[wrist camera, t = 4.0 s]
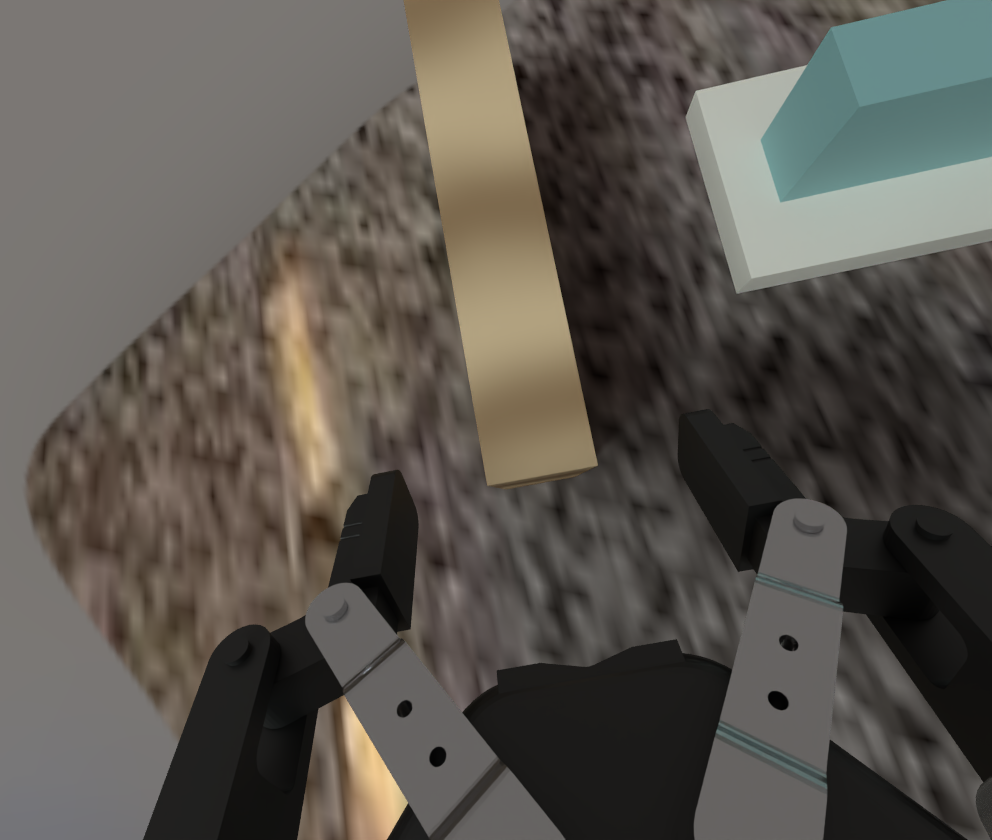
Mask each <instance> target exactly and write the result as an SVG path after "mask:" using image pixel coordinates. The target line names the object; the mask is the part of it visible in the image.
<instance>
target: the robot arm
mask: <svg viewBox="0 0 992 840" xmlns="http://www.w3.org/2000/svg"><path fill="white" fill-rule="evenodd" d="M678 463H679V467H680V471H681V473H682V476H683V478H684V480H685V481H686V483H687V485H688V487H689V488H690V490H691V492H692V493H693V495H694V497H695V499H696V500H697V502H698V504H699V505H700V507H701V509H702V511H703V512H704V514H705V516H706V517H707V519H708V521H709V523H710V524H711V526H712V528H713V529H714V531H715V533H716V535H717V536H718V538H719V540H720V541H721V543H722V545H723V547H724V548H725V550H726V552H727V553H728V555H729V557H730V559H731V560H732V562H733V564H734V565H735V567H736V569H737V571H738V572H739V571H745V570H751V569H754V570H755V572H756V573H757V576H756V580H755V584H754V587H753V591H752V595H751V599H750V603H749V607H748V611H747V615H746V619H745V623H744V627H743V631H742V634H741V638H740V642H739V646H738V650H737V654H736V658H735V662H734V666H733V670H732V669H730V668H728V667H727V666H725V665H723V664H720V663H718V662H716V661H714V660H711V659H707V658H704V657H701V656H697V655H692V654H685V653H682V651H681V649H680V646H679V644H678V641H677V639H676V640H670V641H664V642H658V643H653V644H647V645H641V646H635V647H631V648H629V649H627V650H625V651H623V652H620V653H618V654H616V655H614V656H612V657H610V658H608V659H606V660H604V661H601V662H599V663H597V664H595V665H593V666H590V667H578V666H567V665H556V664H546V663H538V664H532V665H526V666H520V667H515V668H509V669H503V670H497V679H498V685H496V686H494V687H492V688H490V689H489V690H487V691H486V692H484V693H483V694H481V695H480V696H479V697H477V698H476V699H475V700H474V701H473V702H472V703H471V704H470V705H469V706H468V707H467V708H466V709H465V710H464V711H463V713H462V712H461V711H460V709H459V708H458V707H457V706H456V704H455V703H454V702H453V701H452V699H451V698H450V697H449V696H448V694H447V693H446V692H445V691H444V689H443V688H442V687H441V686H440V684H439V683H438V682H437V681H436V679H435V678H434V677H433V676H432V674H431V673H430V672H429V671H428V669H427V668H426V667H425V666H424V664H423V663H422V662H421V661H420V659H419V658H418V657H417V656H416V654H415V653H414V652H413V651H412V649H411V648H410V647H409V646H408V644H407V643H406V642H405V641H404V640H403V639H400V638H399V637H398V636H397V632H398V631H404V630H409V629H411V616H412V604H413V591H414V578H415V565H416V553H417V540H418V515H417V511H416V507H415V504H414V502H413V500H412V497H411V495H410V492H409V490H408V488H407V485H406V483H405V480H404V478H403V476H402V473H401V472H400V471H399V470H394V471H389V472H384V473H378V474H374V475H372V477H371V481H370V485H369V490H368V494H364V495H359V496H357V497H356V499H355V500H354V502H353V503H352V504H351V506H350V507H349V509H348V510H347V514H346V518H345V522H344V528H343V530H342V534H341V541H340V542H339V546H338V550H337V554H336V558H335V562H334V566H333V570H332V574H331V578H330V582H329V586H328V588H327V589H325V590H324V591H322V592H321V593H320V594H319V595H318V596H317V597H316V598H315V599H314V600H313V602H312V603H311V604H310V606H309V608H308V610H307V613H306V615H305V616H303V617H302V618H300V619H298V620H296V621H294V622H292V623H290V624H288V625H286V626H284V627H281V628H279V629H277V630H275V631H273V632H271V633H270V632H269V631H268V630H267V629H266V628H265V627H263V626H261V625H248V626H244V627H242V628H240V629H237V630H236V631H234V632H232V633H231V634H230V635H228V636H227V637H226V638H225V639H224V640H223V641H222V642H221V643H220V644H219V645H218V646H217V647H216V649H215V650H214V652H213V653H212V655H211V657H210V659H209V662H208V665H207V667H206V670H205V673H204V675H203V678H202V681H201V684H200V686H199V689H198V692H197V695H196V697H195V700H194V703H193V705H192V708H191V711H190V714H189V716H188V719H187V722H186V724H185V727H184V730H183V733H182V735H181V738H180V741H179V743H178V746H177V749H176V752H175V754H174V757H173V760H172V762H171V765H170V768H169V771H168V773H167V776H166V779H165V781H164V784H163V787H162V790H161V793H160V795H159V798H158V801H157V803H156V806H155V809H154V812H153V814H152V817H151V820H150V823H149V825H148V828H147V831H146V833H145V836H144V839H143V840H297V837H298V831H299V825H300V819H301V812H302V806H303V800H304V794H305V788H306V782H307V775H308V769H309V763H310V757H311V751H312V745H313V738H314V732H315V726H316V720H317V714H318V708H320V707H322V706H324V705H326V704H328V703H330V702H332V701H333V700H335V699H337V698H339V697H341V696H343V695H345V697H346V699H347V701H348V702H349V704H350V706H351V707H352V709H353V711H354V712H355V714H356V716H357V717H358V719H359V721H360V723H361V724H362V726H363V728H364V729H365V731H366V733H367V734H368V736H369V738H370V739H371V741H372V743H373V744H374V746H375V748H376V749H377V751H378V753H379V754H380V756H381V758H382V759H383V761H384V763H385V764H386V766H387V768H388V769H389V771H390V773H391V775H392V776H393V778H394V780H395V781H396V783H397V785H398V786H399V788H400V790H401V791H402V793H403V795H404V796H405V798H406V800H407V801H408V804H407V806H406V808H405V810H404V811H403V813H402V815H401V816H400V818H399V820H398V822H397V823H396V825H395V827H394V828H393V830H392V832H391V834H390V835H389V837H388V839H387V840H967V839H966V838H965V837H963V836H962V835H960V834H959V833H958V832H956V831H955V830H954V829H952V828H951V827H949V826H948V825H947V824H945V823H944V822H943V821H941V820H940V819H938V818H937V817H936V816H934V815H933V814H932V813H930V812H929V811H927V810H926V809H925V808H923V807H922V806H921V805H919V804H918V803H916V802H915V801H914V800H912V799H911V798H910V797H908V796H907V795H905V794H904V793H903V792H901V791H900V790H899V789H897V788H896V787H894V786H893V785H892V784H890V783H889V782H888V781H886V780H885V779H883V778H882V777H881V776H879V775H878V774H877V773H875V772H874V771H872V770H871V769H870V768H868V767H867V766H866V765H864V764H863V763H861V762H860V761H859V760H857V759H856V758H855V757H853V756H852V755H850V754H849V753H848V752H846V751H845V750H844V749H842V748H841V747H839V746H838V745H837V744H835V743H834V742H833V741H831V740H830V731H831V722H832V712H833V703H834V693H835V684H836V674H837V665H838V655H839V645H840V636H841V626H842V617H843V611H844V612H852V613H860V614H866V615H867V616H868V618H869V619H870V621H871V622H872V624H873V625H874V626H875V628H876V629H877V631H878V632H879V634H880V635H881V636H882V638H883V639H884V641H885V642H886V644H887V645H888V646H889V648H890V649H891V651H892V652H893V654H894V655H895V656H896V658H897V659H898V661H899V662H900V664H901V665H902V666H903V668H904V669H905V671H906V672H907V674H908V675H909V676H910V678H911V679H912V681H913V682H914V684H915V685H916V686H917V688H918V689H919V691H920V692H921V694H922V695H923V696H924V698H925V699H926V701H927V702H928V704H929V705H930V706H931V708H932V709H933V711H934V712H935V714H936V715H937V716H938V718H939V719H940V721H941V722H942V724H943V725H944V726H945V728H946V729H947V731H948V732H949V734H950V735H951V736H952V738H953V739H954V741H955V742H956V744H957V745H958V746H959V748H960V749H961V751H962V752H963V754H964V755H965V756H966V758H967V759H968V761H969V762H970V764H971V765H972V766H973V768H974V769H975V771H976V772H977V774H978V775H979V776H980V778H981V779H982V781H983V783H982V784H981V785H980V787H979V789H978V790H977V794H976V806H977V811H978V814H979V817H980V819H981V822H982V823H983V825H984V827H985V829H986V831H987V833H988V835H989V837H990V839H991V840H992V547H991V546H990V545H989V544H988V543H987V542H986V541H985V540H984V539H983V538H982V537H981V536H980V535H979V534H977V533H976V532H975V531H974V530H973V529H972V528H971V527H970V526H969V525H968V524H967V523H965V522H964V521H963V520H961V519H960V518H958V517H957V516H955V515H953V514H951V513H948V512H946V511H944V510H941V509H938V508H934V507H930V506H923V505H908V506H904V507H901V508H898V509H897V510H895V511H894V512H893V513H892V515H891V517H890V519H889V521H874V520H859V519H848V518H843V517H841V515H840V514H839V513H837V512H836V511H835V510H834V509H832V508H831V507H829V506H827V505H825V504H823V503H820V502H818V501H814V500H809V499H806V498H805V497H804V496H803V494H802V493H801V492H800V491H799V490H798V489H797V487H796V486H795V485H794V484H793V483H792V482H791V480H790V479H789V478H788V477H787V476H786V474H785V473H784V472H783V471H782V470H781V469H780V467H779V466H778V465H777V464H776V463H775V461H774V460H773V459H771V458H770V456H769V454H768V453H767V452H766V451H765V450H764V449H762V448H761V445H760V444H759V443H758V441H757V440H756V439H755V438H754V437H753V436H752V434H751V433H749V432H748V431H746V430H744V429H742V428H741V427H739V426H737V425H735V424H734V423H731V424H726V425H723V424H722V423H721V422H720V420H719V419H718V418H717V417H716V415H715V414H714V413H713V412H712V411H711V410H710V409H706V410H701V411H696V412H691V413H686V414H682V415H681V416H680V418H679V437H678Z"/></svg>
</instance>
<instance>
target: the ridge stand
mask: <svg viewBox="0 0 992 840" xmlns="http://www.w3.org/2000/svg"><path fill="white" fill-rule="evenodd" d="M686 121H687V124H688V128H689V131H690V135H691V138H692V142H693V145H694V149H695V152H696V155H697V159H698V162H699V166H700V169H701V173H702V176H703V180H704V183H705V187H706V190H707V194H708V197H709V200H710V204H711V207H712V211H713V214H714V218H715V221H716V225H717V228H718V232H719V235H720V238H721V242H722V245H723V249H724V252H725V256H726V259H727V263H728V266H729V270H730V273H731V276H732V280H733V283H734V287H735V290H736V294H738V293H743V292H748V291H753V290H757V289H762V288H767V287H772V286H777V285H782V284H786V283H791V282H796V281H801V280H806V279H810V278H815V277H820V276H825V275H830V274H835V273H839V272H844V271H849V270H854V269H859V268H864V267H868V266H873V265H878V264H883V263H888V262H892V261H897V260H902V259H907V258H912V257H917V256H921V255H926V254H931V253H936V252H941V251H945V250H950V249H955V248H960V247H965V246H970V245H974V244H979V243H984V242H989V241H992V0H947V1H942V2H938V3H934V4H930V5H925V6H921V7H917V8H913V9H908V10H904V11H900V12H896V13H891V14H887V15H883V16H879V17H874V18H870V19H866V20H861V21H857V22H853V23H849V24H844V25H840V26H836V27H832V28H830V30H829V31H828V33H827V35H826V36H825V38H824V39H823V41H822V43H821V44H820V46H819V47H818V49H817V51H816V52H815V54H814V55H813V57H812V59H811V60H810V62H809V63H808V65H806V66H802V67H798V68H793V69H789V70H785V71H780V72H776V73H772V74H767V75H763V76H759V77H754V78H750V79H746V80H741V81H737V82H733V83H728V84H724V85H720V86H715V87H711V88H707V89H703V90H698V91H696V92H695V94H694V97H693V100H692V102H691V105H690V107H689V110H688V112H687V115H686Z"/></svg>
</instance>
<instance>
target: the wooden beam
mask: <svg viewBox="0 0 992 840" xmlns="http://www.w3.org/2000/svg"><path fill="white" fill-rule="evenodd" d="M404 5H405V10H406V17H407V22H408V28H409V34H410V40H411V46H412V51H413V57H414V63H415V68H416V75H417V80H418V86H419V92H420V98H421V104H422V109H423V115H424V121H425V127H426V133H427V138H428V144H429V150H430V156H431V162H432V167H433V173H434V179H435V185H436V191H437V196H438V202H439V208H440V214H441V220H442V225H443V231H444V237H445V243H446V249H447V254H448V260H449V266H450V272H451V278H452V283H453V289H454V295H455V301H456V307H457V312H458V318H459V324H460V330H461V336H462V341H463V347H464V353H465V359H466V365H467V370H468V376H469V382H470V388H471V394H472V399H473V405H474V411H475V417H476V423H477V428H478V434H479V440H480V446H481V452H482V457H483V463H484V469H485V475H486V480H487V486H492V487H497V488H502V489H511V488H516V487H522V486H527V485H533V484H538V483H544V482H549V481H555V480H560V479H566V478H571V477H576V476H578V475H580V474H582V473H584V472H586V471H588V470H590V469H592V468H594V467H596V466H598V464H597V459H596V454H595V450H594V445H593V440H592V435H591V431H590V426H589V421H588V417H587V412H586V407H585V403H584V398H583V393H582V388H581V384H580V379H579V374H578V370H577V365H576V360H575V356H574V351H573V346H572V342H571V337H570V332H569V327H568V323H567V318H566V313H565V309H564V304H563V299H562V295H561V290H560V285H559V281H558V276H557V271H556V266H555V262H554V257H553V252H552V248H551V243H550V238H549V234H548V229H547V224H546V219H545V215H544V210H543V205H542V201H541V196H540V191H539V187H538V182H537V177H536V173H535V168H534V163H533V158H532V154H531V149H530V144H529V140H528V135H527V130H526V126H525V121H524V116H523V111H522V107H521V102H520V97H519V93H518V88H517V83H516V79H515V74H514V69H513V65H512V60H511V55H510V50H509V46H508V41H507V36H506V32H505V27H504V22H503V18H502V13H501V8H500V4H499V0H404Z"/></svg>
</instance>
